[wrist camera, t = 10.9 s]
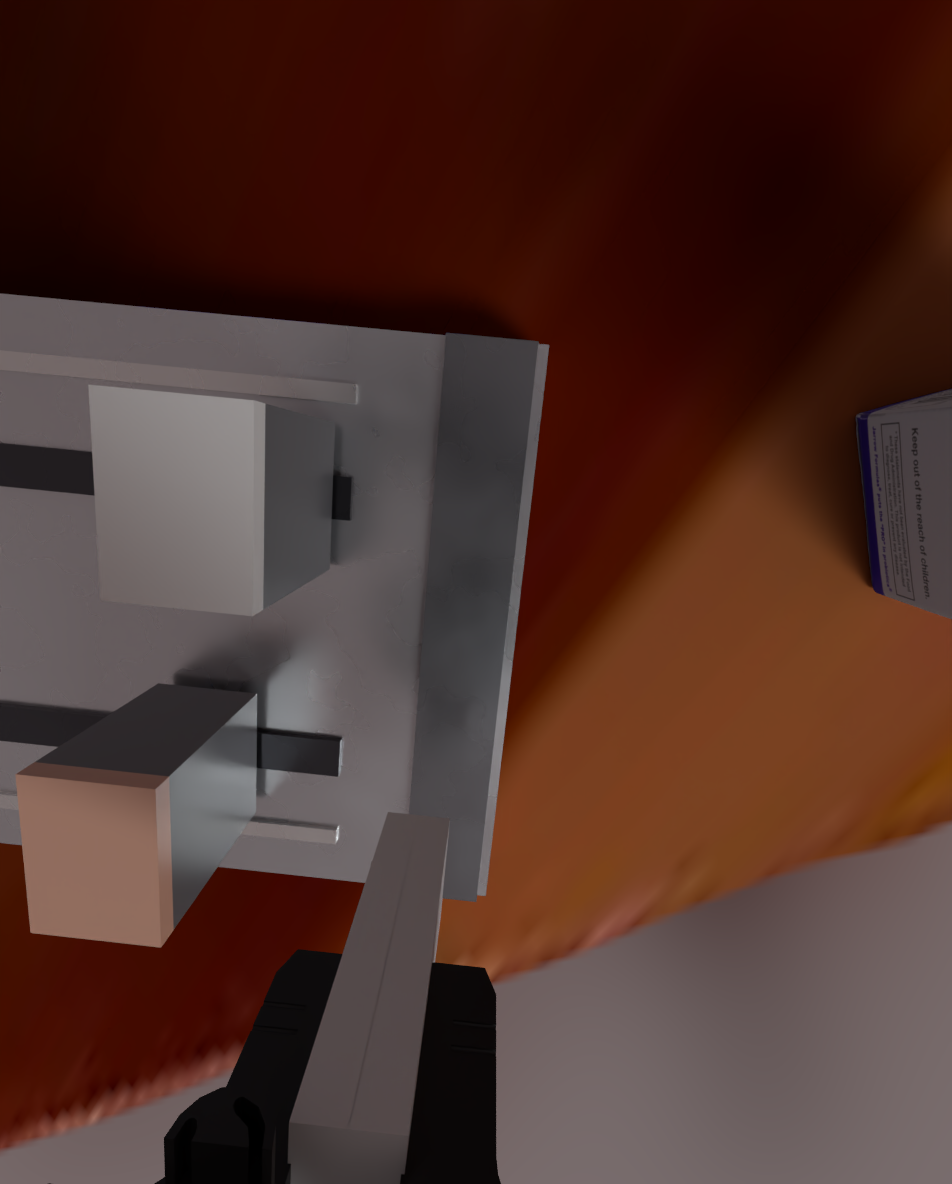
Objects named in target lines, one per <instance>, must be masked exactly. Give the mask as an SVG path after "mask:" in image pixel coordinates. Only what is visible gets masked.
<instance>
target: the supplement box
mask: <svg viewBox="0 0 952 1184" xmlns="http://www.w3.org/2000/svg"><path fill="white" fill-rule="evenodd" d="M856 424H857V426H856V430H857V441H858V451H859V460H860V466H861V478H862V486H863V496H864V506H865V517H866V528H867V542H868V552H869V562H870V571H871V579H872V586H873V589H874V590H875V592H876V593H879V594H881V595H884V596H887V597H890V598H893V599H896V600H898V601H901V602H904V603H907V604H910V605H913V606H916V607H918V608H921V609H924V610H926V611H929V612H932V613H935V614H938V615H941V616H944V617H947V618H950V619H952V389H948V390H944V391H940V392H936V393H932V394H928V395H924V396H920V397H917V398H913V399H909V400H905V401H902V402H898V403H894V404H891V405H887V406H884V407H880V408H877V409H873V410H869V411H866V412H862V413H859V414H857V416H856Z"/></svg>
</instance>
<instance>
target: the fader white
mask: <svg viewBox="0 0 952 1184" xmlns="http://www.w3.org/2000/svg"><path fill="white" fill-rule="evenodd" d="M88 386H89V404H90V422H91V440H92V458H93V476H94V494H95V512H96V531H97V549H98V567H99V585H100V601H108V602H118V603H128V604H138V605H147V606H157V607H167V608H177V609H186V610H196V611H206V612H216V613H226V614H235V615H245V616H254V615H256V614H257V613H259V612H260V611H262V610H264V609H265V608H267V607H269V606H270V605H272V604H274V603H275V602H277V601H279V600H280V599H282V598H283V597H285V596H287V595H288V594H290V593H292V592H293V591H295V590H297V589H298V588H300V587H302V586H303V585H305V584H306V583H308V582H310V581H311V580H313V579H315V578H316V577H318V576H320V575H321V574H323V573H325V572H326V571H328V570H329V569H330V546H331V520H332V493H333V467H334V440H335V422H331V421H327V420H324V419H320V418H316V417H313V416H309V415H305V414H302V413H298V412H294V411H291V410H287V409H284V408H280V407H276V406H273V405H269V404H265V403H262V402H258V401H254V400H244V399H234V398H224V397H213V396H203V395H192V394H182V393H172V392H161V391H151V390H140V389H130V388H119V387H109V386H99V385H88Z"/></svg>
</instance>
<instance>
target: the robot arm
mask: <svg viewBox="0 0 952 1184" xmlns="http://www.w3.org/2000/svg"><path fill="white" fill-rule="evenodd" d="M449 824H450V818H440V817H431V816H421V815H412V814H403V813H393V812H388V813H387V816H386V819H385V823H384V826H383V829H382V832H381V835H380V838H379V841H378V845H377V848H376V851H375V854H374V857H373V860H372V863H371V867H370V870H369V873H368V876H367V879H366V882H365V885H364V889H363V892H362V895H361V898H360V901H359V904H358V907H357V910H356V914H355V917H354V920H353V923H352V926H351V929H350V932H349V936H348V939H347V942H346V945H345V948H344V951H343V954H336V953H326V952H317V951H308V950H299V949H298V950H297V951H296V952H295V953H294V954H293V955H292V956H291V957H290V959H289V960H288V961H287V962H286V963H285V964H284V965H283V966H282V967H281V968H280V969H279V970H278V971H277V972H276V975H275V977H274V979H273V982H272V984H271V986H270V988H269V991H268V993H267V995H266V997H265V1000H264V1004H263V1006H262V1007H261V1009H260V1011H259V1013H258V1016H257V1018H256V1020H255V1022H254V1025H253V1029H252V1031H251V1032H250V1034H249V1036H248V1038H247V1041H246V1043H245V1045H244V1047H243V1050H242V1052H241V1054H240V1057H239V1059H238V1061H237V1063H236V1066H235V1068H234V1070H233V1073H232V1075H231V1077H230V1079H229V1082H228V1084H227V1086H226V1087H223V1088H220V1089H217V1090H215V1091H213V1092H211V1093H209V1094H207V1095H204V1096H202V1097H200V1098H199V1099H198V1100H196V1101H195V1102H194V1103H193V1104H192V1105H191V1106H190V1107H188V1108H187V1109H186V1110H185V1111H184V1112H183V1113H181V1114H180V1115H179V1117H178V1118H177V1120H176V1121H175V1123H174V1124H173V1126H172V1127H171V1129H170V1130H169V1132H168V1133H167V1134H166V1136H165V1137H164V1152H165V1153H164V1154H165V1155H164V1156H165V1177H164V1178H163V1179H161V1180H160V1181H158V1182H157V1183H155V1184H501V1183H500V1179H499V1176H498V1170H497V1160H496V993H495V991H494V989H493V986H492V984H491V981H490V979H489V977H488V974H487V972H486V969H485V968H480V967H471V966H462V965H453V964H444V963H435V957H436V949H437V941H438V933H439V925H440V917H441V907H442V897H443V886H444V876H445V865H446V855H447V845H448V834H449Z"/></svg>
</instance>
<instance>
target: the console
mask: <svg viewBox="0 0 952 1184" xmlns="http://www.w3.org/2000/svg"><path fill="white" fill-rule="evenodd" d="M538 342H539V341H529V340H518V339H508V338H497V337H486V336H476V335H465V334H454V333H446V335H438V334H427V333H416V332H405V331H395V330H384V329H373V328H363V327H352V326H341V325H331V324H320V323H309V322H299V321H288V320H277V319H267V318H256V317H245V316H235V315H224V314H213V313H203V312H192V311H181V310H171V309H160V308H149V307H139V306H128V305H117V304H107V303H96V302H85V301H75V300H64V299H53V298H43V297H32V296H21V295H11V294H0V843H7V844H17V845H22V838H21V827H20V817H19V806H18V796H17V786H16V775H15V774H17V773H18V772H20V771H21V770H23V769H24V768H26V767H28V766H29V765H31V764H32V763H34V762H35V761H37V760H39V759H40V758H42V757H43V756H45V755H46V754H48V753H50V752H51V751H53V750H54V749H56V748H57V747H59V746H61V745H62V744H64V743H65V742H67V741H68V740H70V739H72V738H73V737H75V736H76V735H78V734H79V733H81V732H83V731H84V730H86V729H87V728H89V727H90V726H92V725H94V724H95V723H97V722H98V721H100V720H101V719H103V718H105V717H106V716H108V715H109V714H111V713H112V712H114V711H116V710H117V709H119V708H120V707H122V706H123V705H125V704H127V703H128V702H130V701H131V700H133V699H134V698H136V697H138V696H139V695H141V694H142V693H144V692H145V691H147V690H149V689H150V688H152V687H153V686H155V685H156V684H158V683H161V684H170V685H180V686H189V687H199V688H208V689H218V690H227V691H237V692H247V693H256V694H257V767H256V813H255V814H254V816H253V817H252V818H251V820H250V821H249V823H248V824H247V826H246V827H245V828H244V830H243V831H242V833H241V834H240V836H239V837H238V838H237V840H236V841H235V843H234V844H233V846H232V847H231V848H230V850H229V851H228V853H227V854H226V856H225V857H224V858H223V860H222V861H221V863H220V864H219V866H218V867H226V868H236V869H245V870H254V871H263V872H272V873H281V874H290V875H299V876H309V877H318V878H327V879H336V880H345V881H354V882H363V883H365V882H366V879H367V876H368V873H369V870H370V867H371V863H372V860H373V857H374V854H375V851H376V848H377V845H378V841H379V838H380V835H381V832H382V829H383V826H384V823H385V819H386V816H387V813H388V812H393V813H403V814H412V815H421V816H431V817H440V818H450V824H449V834H448V845H447V855H446V865H445V876H444V886H443V897H442V898H446V899H455V900H464V901H473V902H476V899H477V895H482V896H486V888H487V879H488V870H489V862H490V853H491V844H492V836H493V827H494V818H495V810H496V801H497V793H498V784H499V775H500V767H501V758H502V749H503V741H504V732H505V723H506V715H507V706H508V697H509V689H510V680H511V671H512V663H513V654H514V645H515V637H516V628H517V619H518V611H519V602H520V593H521V585H522V576H523V567H524V559H525V550H526V541H527V533H528V524H529V515H530V507H531V498H532V489H533V481H534V472H535V463H536V455H537V446H538V437H539V429H540V420H541V411H542V403H543V394H544V385H545V377H546V368H547V359H548V351H549V345H544V344H538ZM88 385H99V386H109V387H119V388H130V389H140V390H151V391H161V392H172V393H182V394H192V395H203V396H213V397H224V398H234V399H244V400H254V401H258V402H262V403H265V404H269V405H273V406H276V407H280V408H284V409H287V410H291V411H294V412H298V413H302V414H305V415H309V416H313V417H316V418H320V419H324V420H327V421H331V422H335V440H334V467H333V493H332V520H331V546H330V569H329V570H328V571H326V572H325V573H323V574H321V575H320V576H318V577H316V578H315V579H313V580H311V581H310V582H308V583H306V584H305V585H303V586H302V587H300V588H298V589H297V590H295V591H293V592H292V593H290V594H288V595H287V596H285V597H283V598H282V599H280V600H279V601H277V602H275V603H274V604H272V605H270V606H269V607H267V608H265V609H264V610H262V611H260V612H259V613H257V614H256V615H254V616H245V615H235V614H226V613H216V612H206V611H196V610H186V609H177V608H167V607H157V606H147V605H138V604H128V603H118V602H108V601H100V585H99V567H98V549H97V531H96V512H95V494H94V476H93V458H92V440H91V422H90V404H89V386H88Z"/></svg>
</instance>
